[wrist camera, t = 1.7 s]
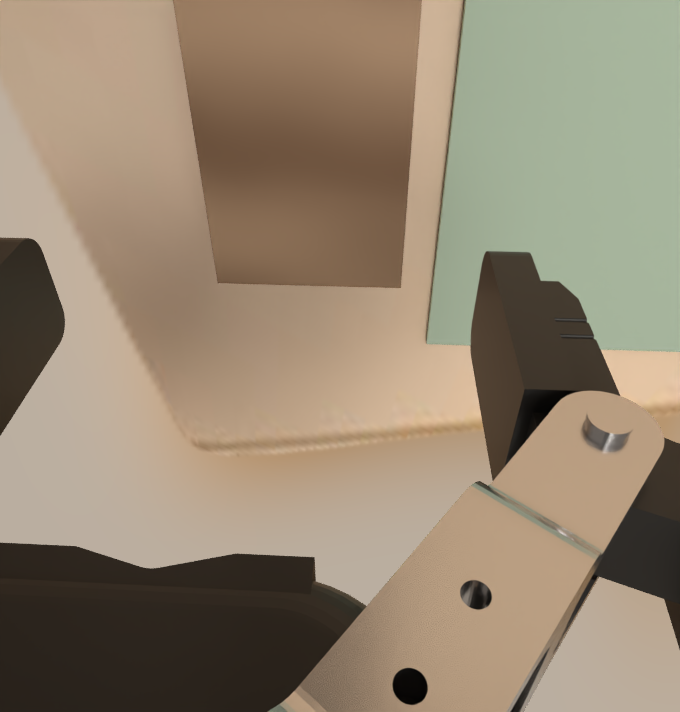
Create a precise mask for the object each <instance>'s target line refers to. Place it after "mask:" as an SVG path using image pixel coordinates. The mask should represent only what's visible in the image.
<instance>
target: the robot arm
mask: <svg viewBox="0 0 680 712" xmlns="http://www.w3.org/2000/svg"><path fill="white" fill-rule="evenodd" d="M64 327H65V319H64V312H63V308H62V305H61V302H60V300H59V297H58V294H57V291H56V288H55V286H54V283H53V280H52V277H51V274H50V272H49V269H48V266H47V263H46V260H45V258H44V255H43V252H42V250H41V248H40V246H39V245H38V243H37V242H36V241H35V240H33V239H29V238H0V435H1V434H2V432H3V430H4V429H5V427H6V426H7V424H8V423H9V421H10V420H11V418H12V417H13V415H14V414H15V412H16V410H17V409H18V407H19V406H20V404H21V403H22V401H23V400H24V398H25V396H26V395H27V393H28V392H29V390H30V389H31V387H32V385H33V384H34V382H35V381H36V379H37V378H38V376H39V375H40V373H41V372H42V370H43V369H44V367H45V365H46V364H47V362H48V361H49V359H50V358H51V356H52V355H53V353H54V351H55V350H56V348H57V347H58V345H59V344H60V342H61V340H62V337H63V333H64ZM471 358H472V364H473V369H474V375H475V381H476V387H477V393H478V398H479V404H480V410H481V416H482V422H483V427H484V433H485V438H486V445H487V451H488V456H489V461H490V468H491V474H492V479H493V482H492V483H491V484H490V485H488V486H487V485H486V484H484V483H482V482H480V481H479V482H475V483H474V484H472V485H471V486H470V487H469V488H468V489H467V490H466V491H465V492H464V493H463V494H462V495H461V496H460V498H459V499H458V500H457V501H456V502H455V504H454V505H453V506H452V507H451V508H450V509H449V511H448V512H447V513H446V514H445V515H444V516H443V518H442V519H441V520H440V521H439V522H438V523H437V525H436V526H435V527H434V528H433V529H432V531H431V532H430V533H429V534H428V535H427V537H425V539H424V540H423V541H422V542H421V543H420V545H419V546H418V547H417V548H416V549H415V550H414V552H413V553H412V554H411V555H410V556H409V557H408V559H407V560H406V561H405V562H404V563H403V564H402V566H401V567H400V568H399V569H398V570H397V572H396V573H395V574H394V575H393V576H392V577H391V578H390V580H389V581H388V582H387V583H386V584H385V585H384V587H383V588H382V589H381V590H380V591H379V593H378V594H377V595H376V596H375V597H374V598H373V600H372V601H371V602H370V603H369V604H368V605H367V606H366V605H364V604H363V603H361V602H359V601H358V600H356V599H355V598H353V597H351V596H350V595H348V594H346V593H344V592H342V591H340V590H337V589H335V588H333V587H331V586H327V585H325V584H321V583H318V582H316V579H315V560H314V557H295V556H274V555H273V556H272V555H252V554H232V555H226V556H221V557H216V558H210V559H205V560H199V561H194V562H189V563H183V564H178V565H172V566H167V567H161V568H154V569H149V568H143V567H139V566H136V565H133V564H130V563H127V562H123V561H120V560H117V559H114V558H111V557H108V556H105V555H101V554H98V553H95V552H92V551H89V550H86V549H83V548H80V547H76V546H59V545H37V544H16V543H0V712H524V710H525V708H526V706H527V705H528V703H529V701H530V699H531V697H532V695H533V693H534V691H535V690H536V688H537V686H538V684H539V682H540V680H541V678H542V676H543V675H544V673H545V671H546V669H547V667H548V666H549V664H550V662H551V660H552V658H553V657H554V655H555V653H556V652H557V650H558V648H559V646H560V645H561V643H562V641H563V639H564V638H565V636H566V634H567V632H568V631H569V629H570V627H571V625H572V624H573V622H574V620H575V618H576V616H577V615H578V613H579V611H580V610H581V608H582V606H583V604H584V603H585V601H586V599H587V597H588V596H589V594H590V592H591V590H592V588H593V587H594V585H595V583H596V581H597V579H598V578H599V577H602V578H605V579H608V580H611V581H614V582H616V583H619V584H623V585H626V586H628V587H631V588H634V589H637V590H640V591H643V592H646V593H649V594H652V595H655V596H657V597H660V598H663V599H664V600H665V603H666V606H667V610H668V613H669V616H670V619H671V623H672V626H673V629H674V632H675V635H676V638H677V642H678V645H679V648H680V444H679V443H676V442H673V441H671V440H669V439H666V438H664V436H663V432H662V430H661V428H660V426H659V424H658V423H657V421H656V420H655V419H654V418H653V417H652V416H651V415H650V414H649V413H648V412H647V411H646V410H645V409H643V408H642V407H640V406H639V405H637V404H636V403H634V402H632V401H630V400H628V399H626V398H624V397H621V396H620V394H619V392H618V389H617V387H616V385H615V382H614V380H613V378H612V375H611V373H610V371H609V368H608V366H607V364H606V361H605V359H604V357H603V355H602V352H601V350H600V348H599V345H598V343H597V341H596V339H594V334H593V331H592V329H591V327H590V324H589V323H587V317H586V315H585V313H584V310H583V308H582V306H581V303H580V301H579V299H578V298H577V297H576V296H575V295H574V294H573V293H571V292H570V291H569V290H568V289H567V288H566V287H565V286H564V285H562V284H561V283H560V282H559V281H541V280H540V277H539V274H538V272H537V269H536V266H535V263H534V260H533V258H532V255H531V254H530V253H529V252H505V251H486V252H485V254H484V257H483V261H482V266H481V272H480V278H479V284H478V290H477V296H476V301H475V307H474V313H473V319H472V326H471Z"/></svg>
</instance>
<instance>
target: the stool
mask: <svg viewBox="0 0 680 712" xmlns="http://www.w3.org/2000/svg"><path fill="white" fill-rule="evenodd" d="M173 2H174V9H175V15H176V21H177V28H178V34H179V40H180V47H181V53H182V59H183V66H184V72H185V78H186V85H187V91H188V97H189V104H190V110H191V116H192V123H193V129H194V135H195V142H196V148H197V154H198V161H199V167H200V173H201V179H202V186H203V192H204V198H205V205H206V211H207V217H208V224H209V230H210V236H211V243H212V249H213V255H214V262H215V268H216V274H217V281H218V283H237V284H274V285H310V286H347V287H383V288H401V276H402V263H403V249H404V235H405V222H406V208H407V194H408V181H409V167H410V153H411V140H412V126H413V112H414V98H415V85H416V71H417V57H418V44H419V30H420V16H421V3H422V0H173Z"/></svg>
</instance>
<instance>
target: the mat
mask: <svg viewBox="0 0 680 712" xmlns="http://www.w3.org/2000/svg"><path fill="white" fill-rule="evenodd" d="M486 251H505V252H529V253H530V254H531V255H532V258H533V260H534V263H535V266H536V269H537V272H538V274H539V277H540V280H541V281H559V282H560V283H561V284H562V285H564V286H565V287H566V288H567V289H568V290H569V291H570V292H571V293H573V294H574V295H575V296H576V297H577V298H578V299H579V301H580V303H581V306H582V308H583V310H584V313H585V315H586V317H587V323H589V324H590V327H591V329H592V331H593V334H594V339H596V341H597V343H598V345H599V348H600V349H602V350H634V351H666V352H680V0H465V2H464V10H463V19H462V28H461V37H460V46H459V55H458V63H457V72H456V81H455V90H454V99H453V108H452V117H451V125H450V134H449V143H448V152H447V161H446V170H445V179H444V187H443V196H442V205H441V214H440V223H439V232H438V240H437V249H436V258H435V267H434V276H433V285H432V294H431V302H430V311H429V320H428V329H427V338H426V341H427V344H442V345H471V326H472V319H473V313H474V307H475V301H476V296H477V290H478V284H479V278H480V272H481V266H482V261H483V257H484V254H485V252H486Z"/></svg>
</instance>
